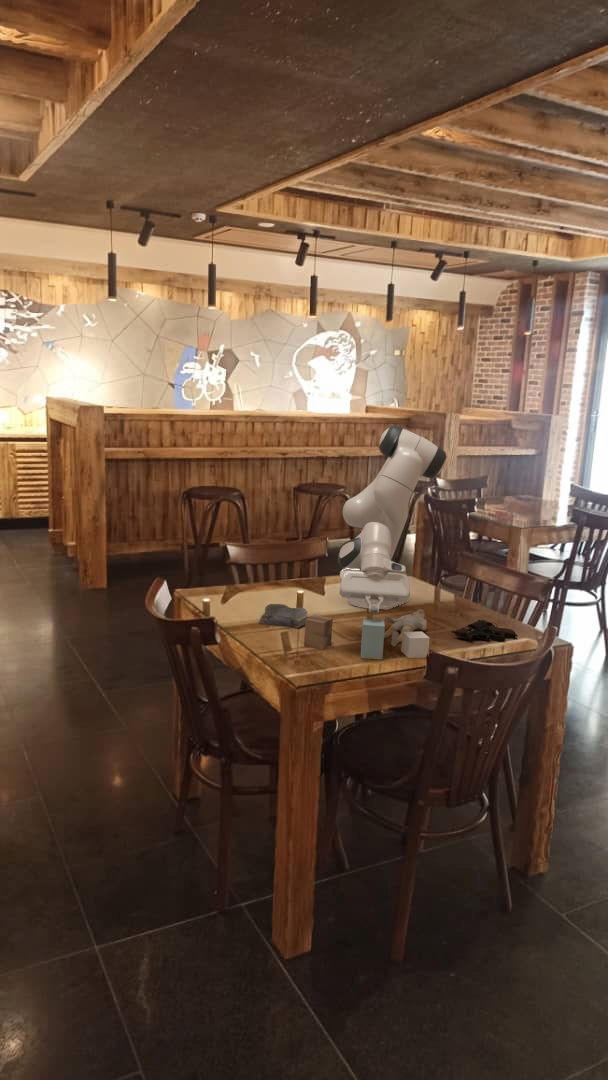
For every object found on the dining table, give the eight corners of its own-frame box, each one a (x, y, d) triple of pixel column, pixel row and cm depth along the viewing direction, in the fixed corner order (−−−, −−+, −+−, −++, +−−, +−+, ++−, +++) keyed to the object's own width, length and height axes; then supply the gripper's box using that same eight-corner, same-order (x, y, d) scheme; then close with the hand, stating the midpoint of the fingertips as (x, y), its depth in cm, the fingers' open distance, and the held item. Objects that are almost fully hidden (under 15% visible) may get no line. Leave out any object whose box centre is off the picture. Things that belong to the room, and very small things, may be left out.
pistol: (522, 629, 250) (480, 614, 259) (495, 641, 235) (452, 625, 244) (519, 642, 251) (478, 626, 260) (492, 654, 236) (449, 638, 245)
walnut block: (313, 640, 235) (314, 614, 234) (331, 644, 233) (332, 618, 231) (303, 645, 230) (305, 619, 229) (322, 649, 227) (323, 623, 226)
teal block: (360, 652, 227) (362, 618, 225) (381, 653, 227) (383, 620, 225) (360, 658, 221) (363, 624, 219) (382, 660, 221) (384, 626, 219)
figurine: (365, 625, 238) (403, 600, 263) (364, 644, 239) (402, 618, 264) (406, 633, 231) (441, 607, 257) (404, 653, 233) (440, 625, 258)
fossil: (301, 630, 246) (302, 619, 245) (254, 624, 250) (255, 613, 249) (314, 618, 260) (314, 607, 260) (269, 612, 264) (269, 601, 264)
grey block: (401, 651, 230) (402, 631, 229) (420, 651, 231) (422, 631, 230) (408, 658, 224) (409, 638, 223) (427, 657, 226) (429, 637, 224)
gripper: (340, 561, 228) (337, 603, 220) (411, 566, 227) (410, 608, 219) (339, 573, 233) (336, 614, 226) (408, 578, 232) (408, 619, 225)
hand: (373, 611), depth 223 cm, fingers closed
